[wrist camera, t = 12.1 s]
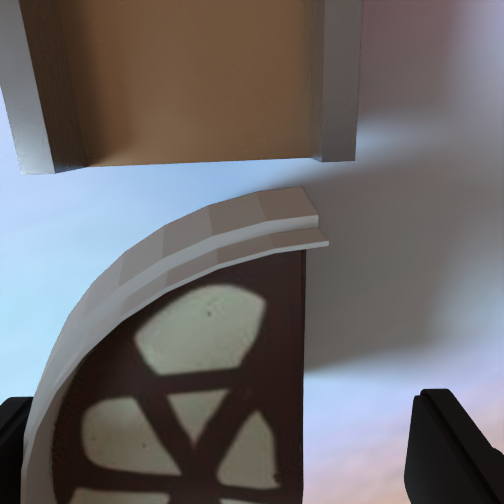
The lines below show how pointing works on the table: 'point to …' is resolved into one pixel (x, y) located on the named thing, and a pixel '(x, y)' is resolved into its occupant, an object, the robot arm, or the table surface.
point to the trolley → (179, 81)
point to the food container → (183, 367)
